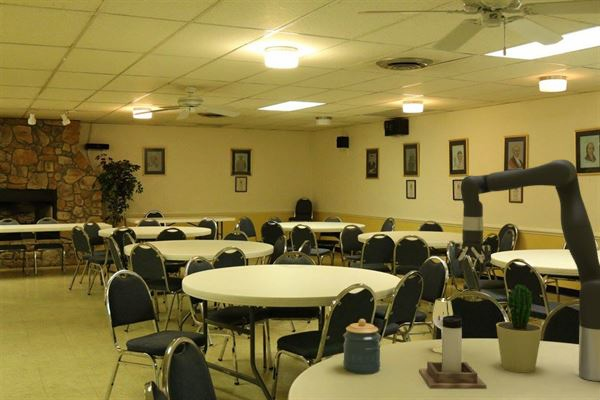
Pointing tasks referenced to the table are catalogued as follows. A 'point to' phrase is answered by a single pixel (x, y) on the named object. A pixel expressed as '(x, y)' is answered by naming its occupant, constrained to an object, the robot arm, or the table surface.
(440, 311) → the wineglass
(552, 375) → the table surface
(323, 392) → the table surface
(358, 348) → the canister
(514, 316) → the potted cactus
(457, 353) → the travel mug
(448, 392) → the table surface
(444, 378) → the square wooden tray
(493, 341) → the table surface
